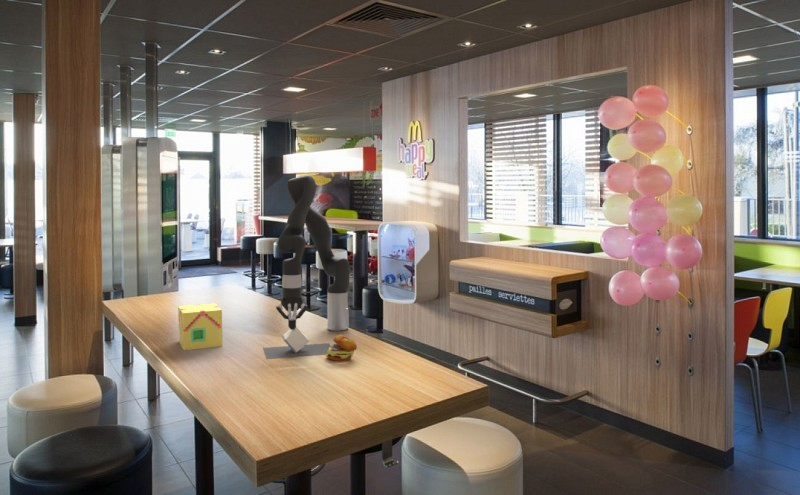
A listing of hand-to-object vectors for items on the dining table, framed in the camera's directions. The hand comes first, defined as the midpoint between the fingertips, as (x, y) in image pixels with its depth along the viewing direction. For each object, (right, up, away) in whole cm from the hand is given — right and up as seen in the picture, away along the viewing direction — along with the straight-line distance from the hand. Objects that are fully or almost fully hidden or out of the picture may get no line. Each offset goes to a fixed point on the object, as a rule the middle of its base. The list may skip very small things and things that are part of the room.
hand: (292, 328), depth 230 cm
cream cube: (-1, -6, 0) cm, 6 cm away
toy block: (-40, -8, +12) cm, 43 cm away
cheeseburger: (+20, -11, -7) cm, 24 cm away
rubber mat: (+3, -9, +2) cm, 10 cm away
